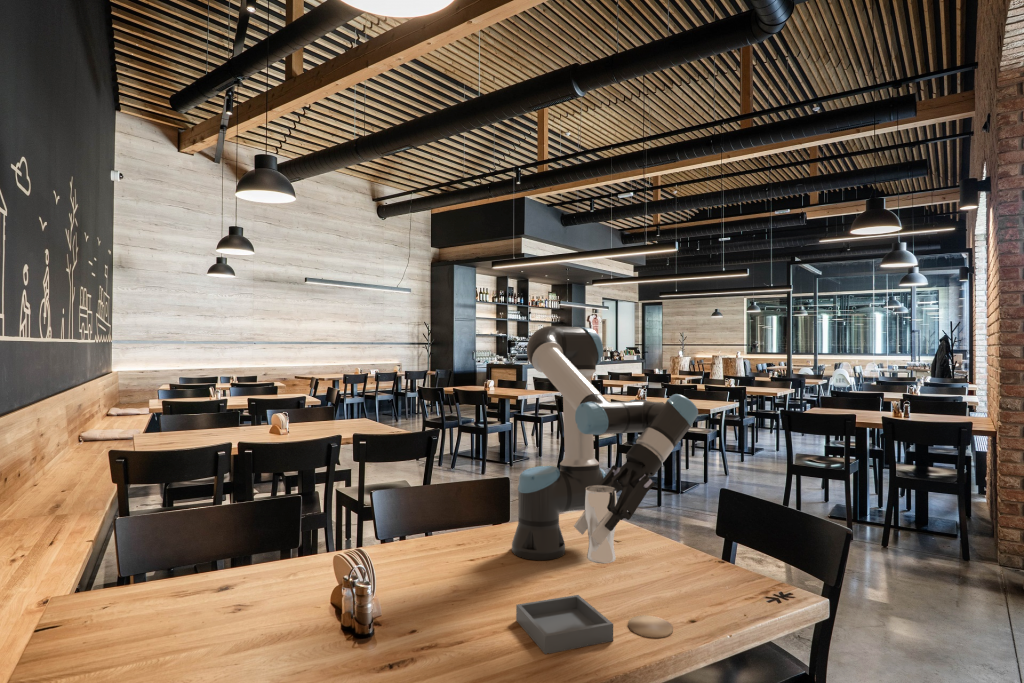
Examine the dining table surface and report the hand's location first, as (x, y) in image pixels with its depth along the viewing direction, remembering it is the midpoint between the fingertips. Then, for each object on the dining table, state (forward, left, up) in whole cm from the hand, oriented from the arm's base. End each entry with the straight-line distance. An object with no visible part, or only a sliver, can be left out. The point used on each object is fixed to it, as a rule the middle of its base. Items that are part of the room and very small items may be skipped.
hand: (586, 535), depth 122 cm
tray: (+3, -7, -17) cm, 19 cm away
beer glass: (0, +4, -6) cm, 7 cm away
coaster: (+8, +10, -17) cm, 22 cm away
